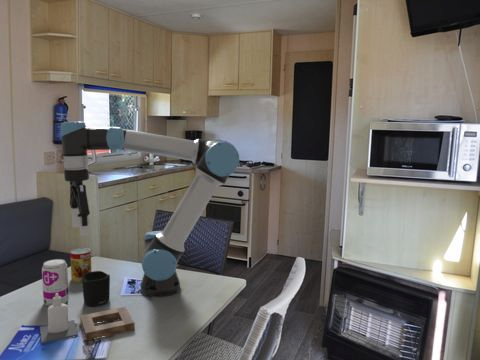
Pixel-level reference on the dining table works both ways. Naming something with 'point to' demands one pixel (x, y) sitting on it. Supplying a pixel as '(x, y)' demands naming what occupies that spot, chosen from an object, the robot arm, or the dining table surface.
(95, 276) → the pen holder
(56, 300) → the eye dropper bottle
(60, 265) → the supplement can
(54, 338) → the rubber mat
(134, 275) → the dining table surface
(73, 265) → the canned food
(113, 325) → the bottle holder
